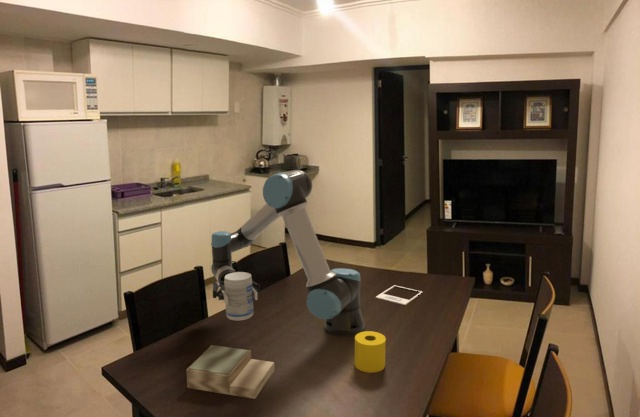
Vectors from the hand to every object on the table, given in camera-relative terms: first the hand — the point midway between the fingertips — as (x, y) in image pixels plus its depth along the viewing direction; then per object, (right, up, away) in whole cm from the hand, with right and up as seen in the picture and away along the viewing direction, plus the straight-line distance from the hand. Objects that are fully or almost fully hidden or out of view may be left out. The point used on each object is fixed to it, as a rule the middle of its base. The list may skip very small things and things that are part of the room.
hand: (241, 298), depth 162 cm
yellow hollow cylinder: (+43, -21, -4) cm, 48 cm away
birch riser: (-1, -23, -13) cm, 26 cm away
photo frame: (+63, -10, +56) cm, 85 cm away
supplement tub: (-2, -7, +6) cm, 9 cm away
